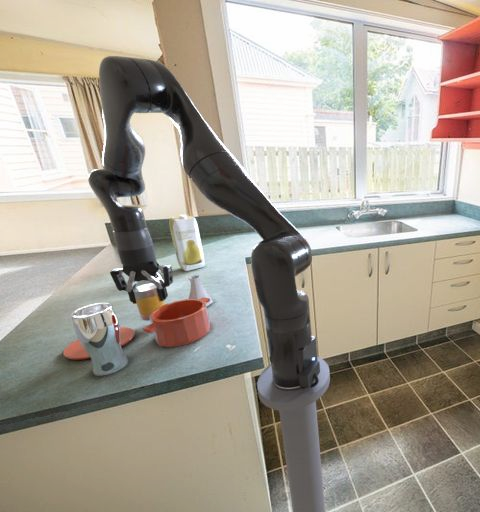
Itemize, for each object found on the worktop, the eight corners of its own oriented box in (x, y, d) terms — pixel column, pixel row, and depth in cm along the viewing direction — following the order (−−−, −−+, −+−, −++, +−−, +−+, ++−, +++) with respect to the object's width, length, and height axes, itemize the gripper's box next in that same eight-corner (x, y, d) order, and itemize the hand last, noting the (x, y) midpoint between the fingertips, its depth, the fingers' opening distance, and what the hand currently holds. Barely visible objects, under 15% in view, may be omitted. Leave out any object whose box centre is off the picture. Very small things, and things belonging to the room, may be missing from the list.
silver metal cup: (103, 359, 71) (84, 304, 67) (136, 355, 73) (120, 301, 68) (82, 379, 65) (60, 319, 60) (119, 374, 66) (100, 315, 62)
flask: (201, 298, 103) (196, 271, 100) (217, 301, 101) (212, 274, 98) (182, 307, 96) (175, 279, 93) (198, 311, 94) (192, 282, 91)
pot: (227, 320, 89) (223, 297, 87) (172, 356, 72) (166, 330, 70) (193, 314, 92) (189, 293, 90) (134, 348, 76) (126, 322, 73)
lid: (147, 334, 82) (142, 315, 80) (90, 366, 69) (82, 343, 67) (111, 327, 85) (105, 308, 83) (50, 356, 72) (41, 334, 71)
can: (171, 311, 89) (165, 284, 86) (152, 321, 83) (143, 292, 80) (156, 309, 90) (148, 282, 87) (135, 319, 84) (127, 290, 82)
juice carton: (184, 272, 127) (171, 217, 119) (177, 268, 131) (165, 215, 124) (207, 266, 133) (197, 214, 126) (200, 263, 138) (190, 212, 131)
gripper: (94, 251, 75) (113, 310, 80) (159, 247, 78) (173, 303, 83) (111, 243, 82) (128, 298, 87) (171, 240, 85) (183, 293, 90)
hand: (150, 301), depth 85 cm, fingers closed on can, 6 cm apart
